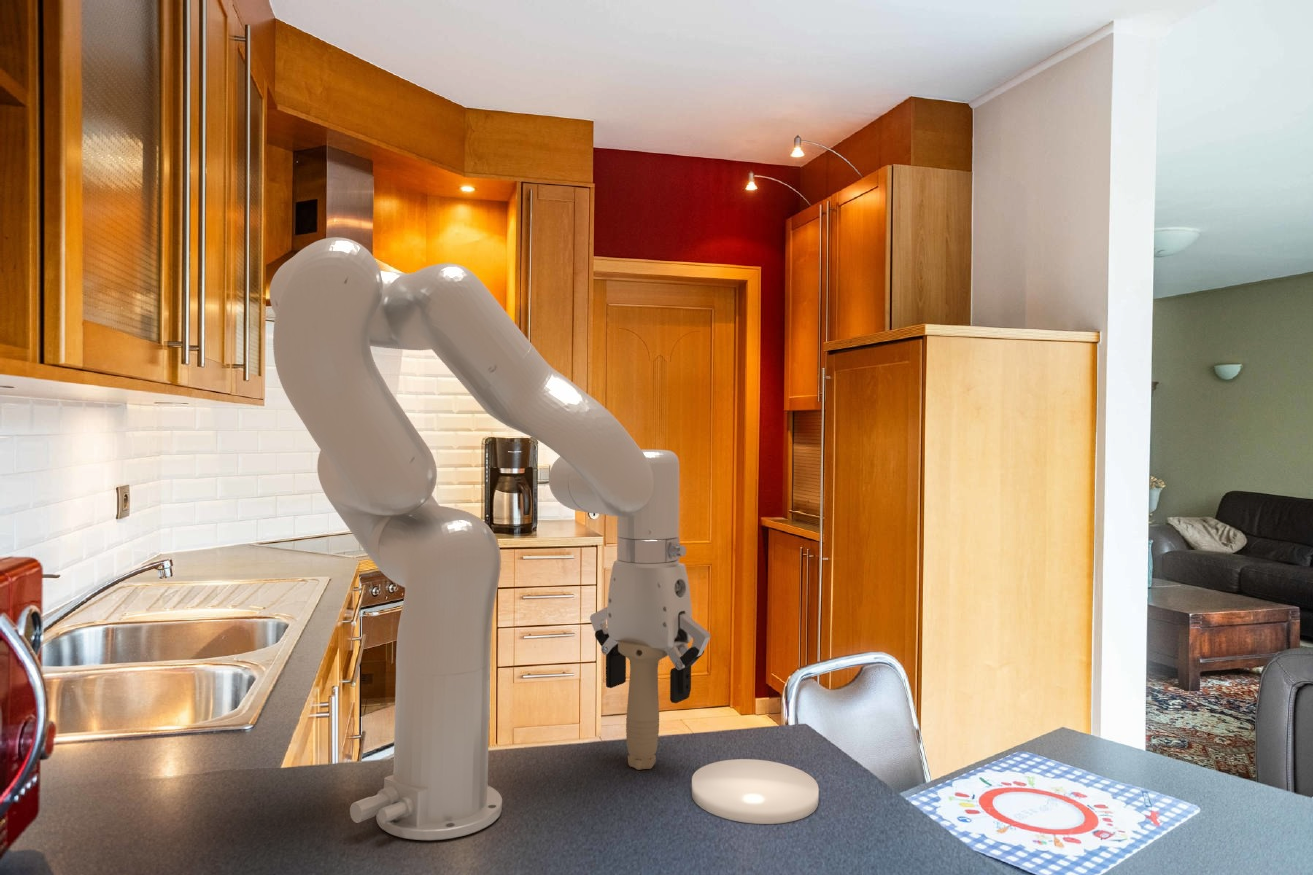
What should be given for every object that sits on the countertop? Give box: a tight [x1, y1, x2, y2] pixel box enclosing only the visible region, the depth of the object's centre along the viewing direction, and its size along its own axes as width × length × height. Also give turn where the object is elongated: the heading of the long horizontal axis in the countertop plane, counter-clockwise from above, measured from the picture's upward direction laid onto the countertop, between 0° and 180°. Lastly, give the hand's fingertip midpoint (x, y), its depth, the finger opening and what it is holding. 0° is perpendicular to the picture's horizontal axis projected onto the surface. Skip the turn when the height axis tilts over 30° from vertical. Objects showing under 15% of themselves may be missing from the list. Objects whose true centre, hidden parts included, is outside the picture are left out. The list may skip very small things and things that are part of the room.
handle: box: [618, 640, 669, 771], centre depth 103 cm, size 5×6×15 cm
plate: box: [691, 758, 820, 825], centre depth 95 cm, size 14×14×2 cm
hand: (647, 692), depth 104 cm, fingers open, 9 cm apart
